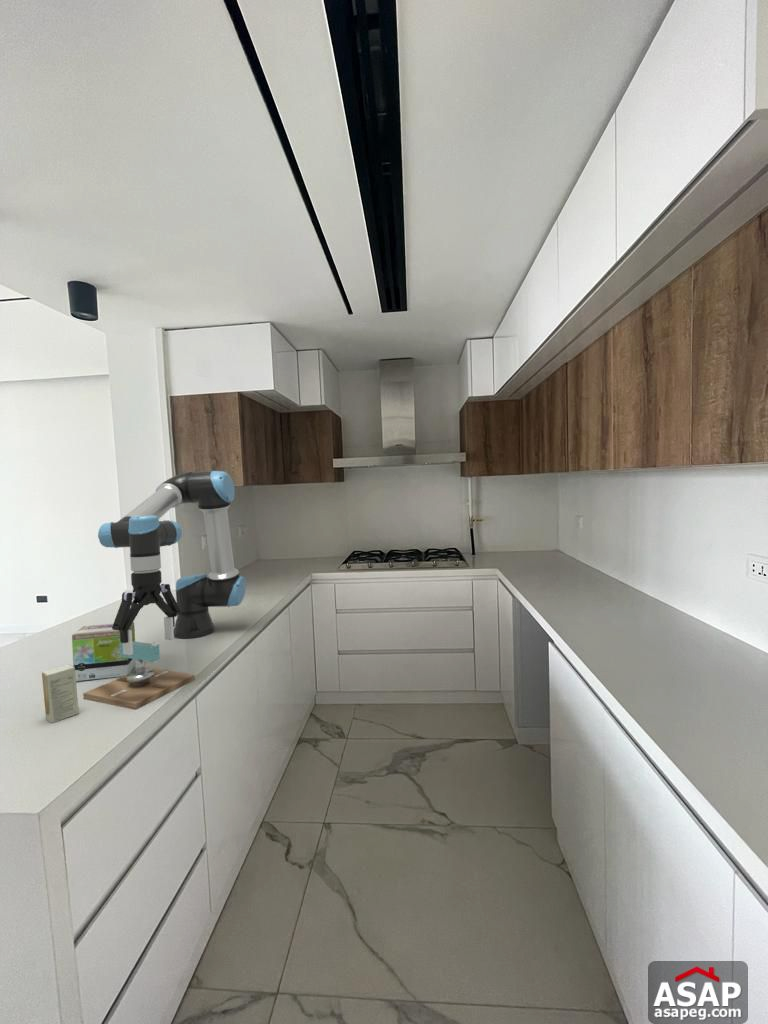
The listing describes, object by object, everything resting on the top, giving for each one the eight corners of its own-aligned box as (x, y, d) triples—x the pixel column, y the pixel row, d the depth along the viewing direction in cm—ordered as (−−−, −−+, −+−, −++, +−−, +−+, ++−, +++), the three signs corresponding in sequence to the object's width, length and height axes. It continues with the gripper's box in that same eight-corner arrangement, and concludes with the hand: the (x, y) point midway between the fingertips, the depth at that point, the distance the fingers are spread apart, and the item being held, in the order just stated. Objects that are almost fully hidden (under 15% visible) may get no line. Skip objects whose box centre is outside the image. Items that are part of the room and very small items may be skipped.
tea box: (73, 683, 139) (70, 634, 138) (85, 671, 148) (82, 625, 148) (129, 676, 143) (126, 628, 142) (137, 665, 152) (134, 620, 152)
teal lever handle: (135, 670, 139) (133, 635, 138) (167, 675, 134) (165, 639, 133) (113, 679, 132) (111, 642, 132) (146, 685, 127) (144, 647, 127)
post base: (145, 671, 146) (145, 662, 146) (194, 679, 138) (194, 669, 138) (83, 698, 128) (82, 687, 127) (135, 709, 120) (135, 698, 120)
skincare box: (73, 709, 121) (70, 663, 121) (79, 713, 118) (76, 666, 118) (43, 719, 116) (40, 670, 116) (49, 724, 113) (46, 674, 113)
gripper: (172, 564, 143) (175, 632, 143) (94, 578, 120) (98, 659, 120) (190, 564, 140) (193, 634, 140) (114, 579, 117) (118, 662, 117)
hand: (149, 646), depth 130 cm, fingers open, 13 cm apart
